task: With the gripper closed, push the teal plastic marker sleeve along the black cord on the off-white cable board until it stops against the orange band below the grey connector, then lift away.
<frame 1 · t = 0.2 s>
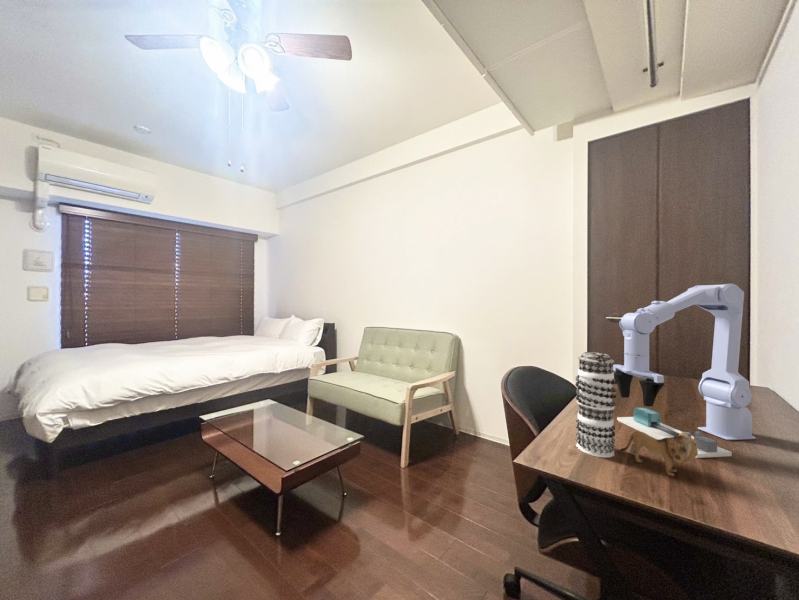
hand: (636, 401, 89), 10 cm above the table, tool pointing down, fingers open, 7 cm apart
decorative candle: (595, 450, 80), on the table
marker sleeve: (646, 416, 95), point 3 cm above the table, slide at 0.0 cm
lion figurine: (658, 467, 72), on the table
cable board: (668, 436, 88), on the table
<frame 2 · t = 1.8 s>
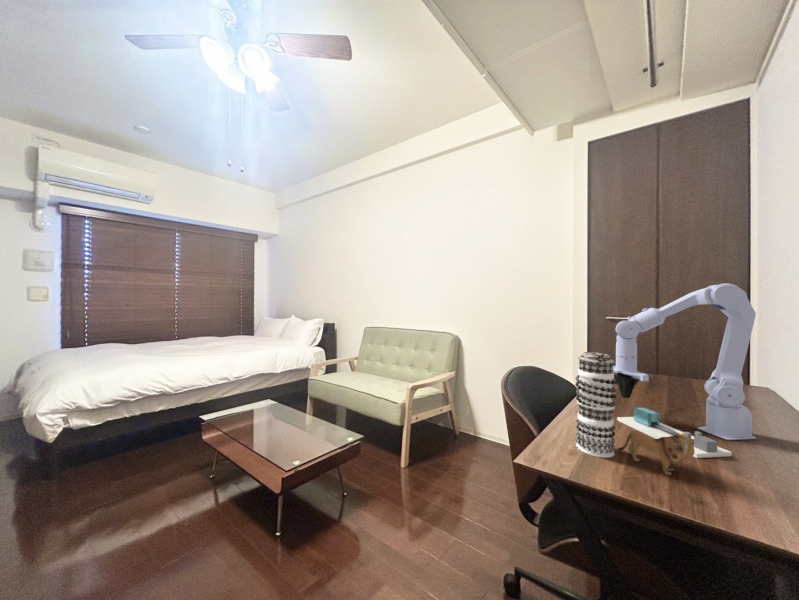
hand: (625, 397, 102), 7 cm above the table, tool pointing down, fingers closed
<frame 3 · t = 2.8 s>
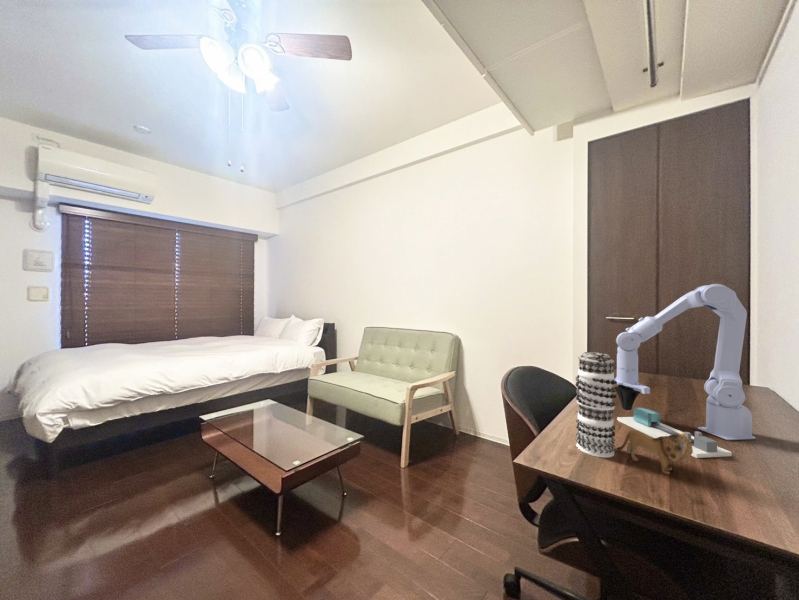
hand: (627, 409, 102), 3 cm above the table, tool pointing down, fingers closed
nothing on the table moved.
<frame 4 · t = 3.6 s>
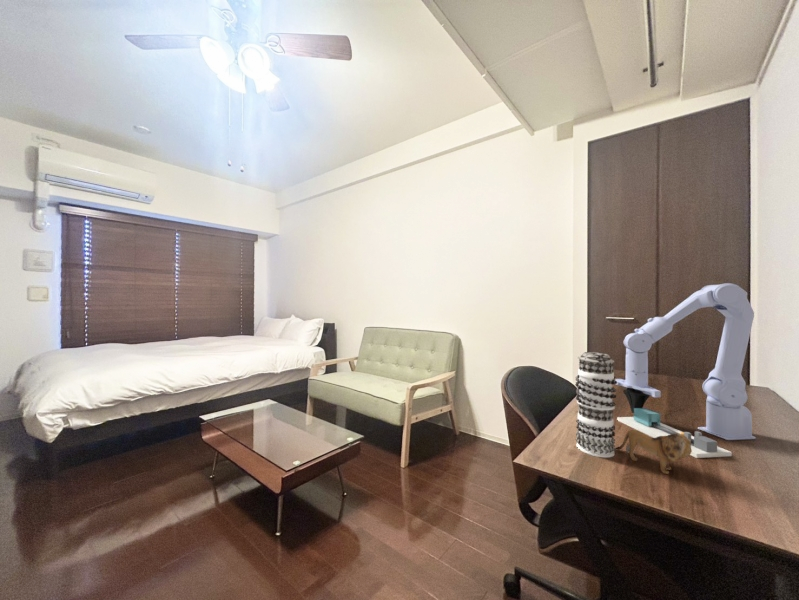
hand: (636, 413, 98), 3 cm above the table, tool pointing down, fingers closed
marker sleeve: (646, 416, 95), point 3 cm above the table, slide at 0.1 cm, touching gripper
everything else where it was.
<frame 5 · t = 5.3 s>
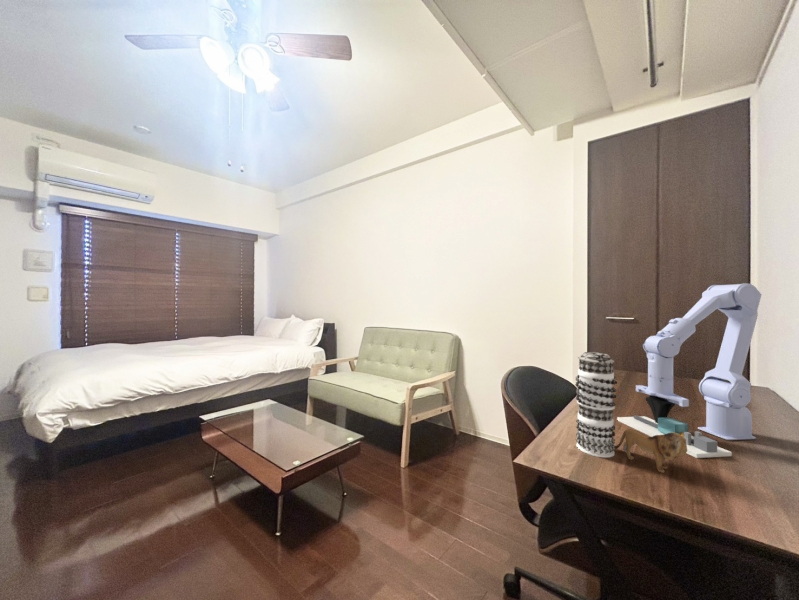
hand: (660, 423, 91), 3 cm above the table, tool pointing down, fingers closed
marker sleeve: (672, 427, 87), point 3 cm above the table, slide at 8.1 cm, touching gripper
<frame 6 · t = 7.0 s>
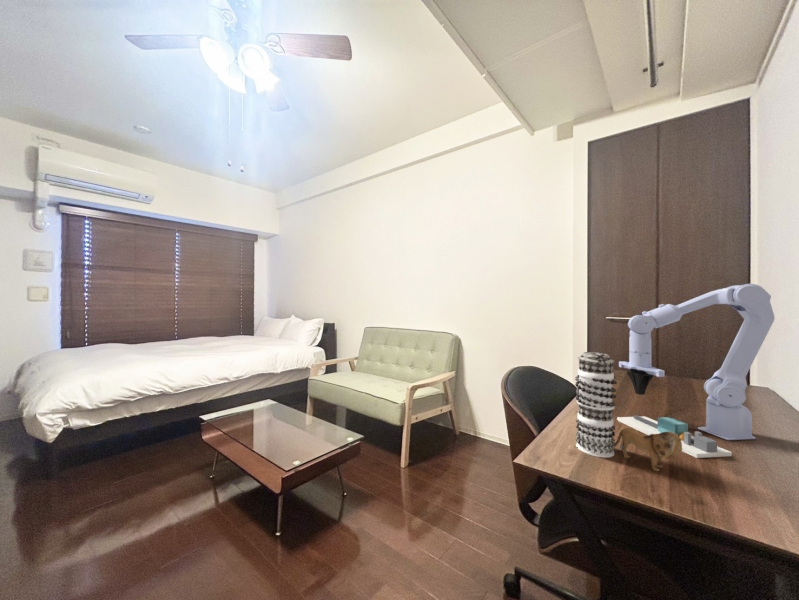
hand: (640, 393, 100), 9 cm above the table, tool pointing down, fingers closed
marker sleeve: (672, 427, 87), point 3 cm above the table, slide at 8.1 cm
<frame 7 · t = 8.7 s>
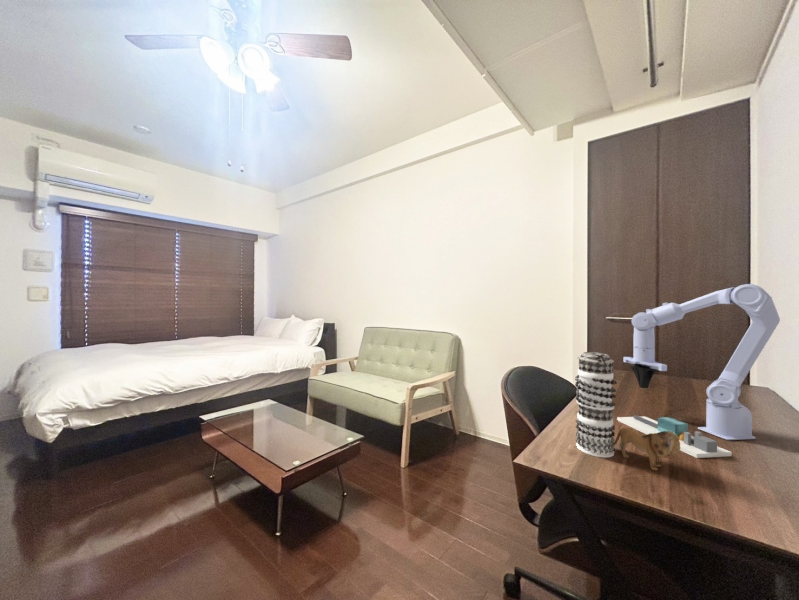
hand: (643, 387, 105), 9 cm above the table, tool pointing down, fingers closed
at the end: marker sleeve slide at 8.1 cm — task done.
